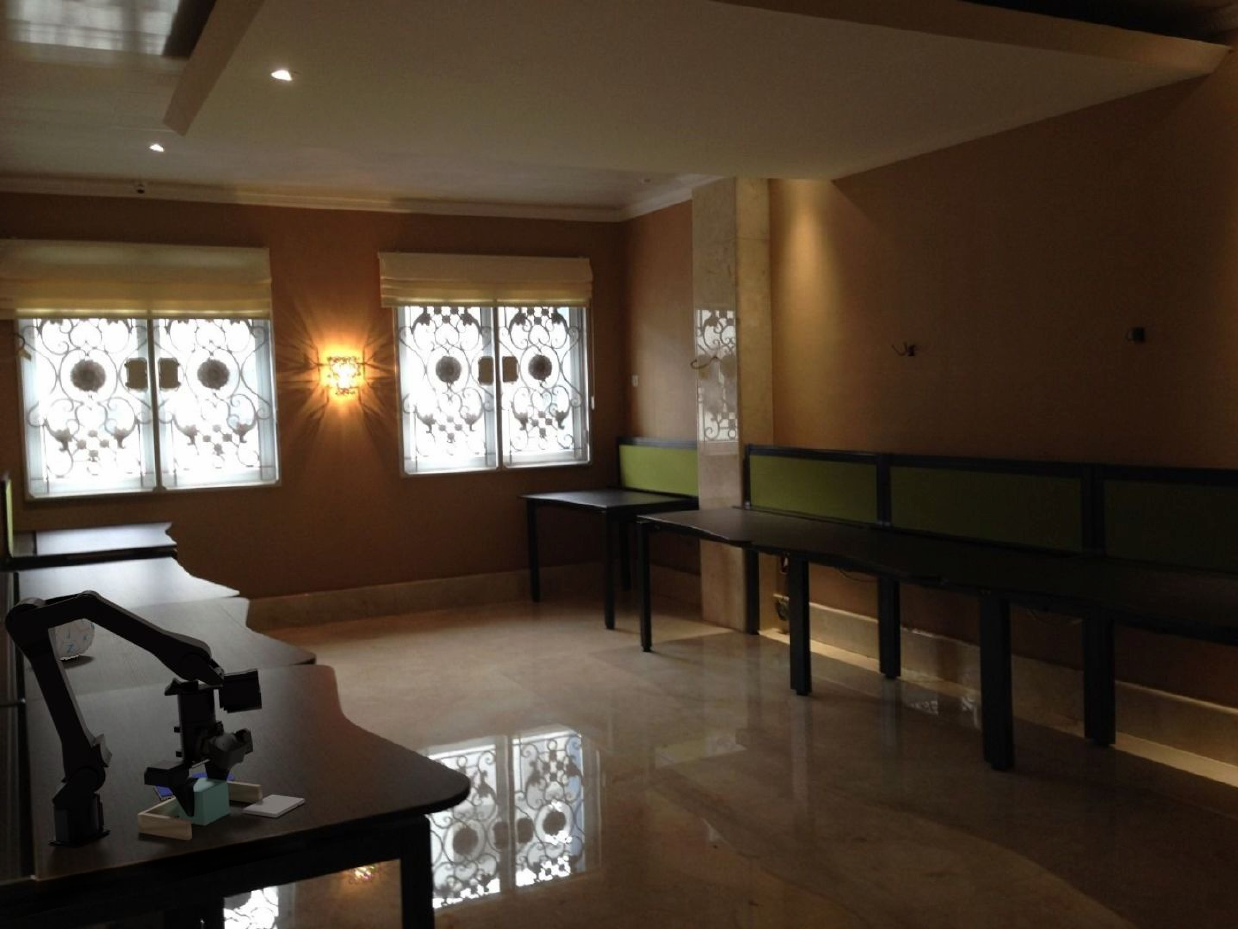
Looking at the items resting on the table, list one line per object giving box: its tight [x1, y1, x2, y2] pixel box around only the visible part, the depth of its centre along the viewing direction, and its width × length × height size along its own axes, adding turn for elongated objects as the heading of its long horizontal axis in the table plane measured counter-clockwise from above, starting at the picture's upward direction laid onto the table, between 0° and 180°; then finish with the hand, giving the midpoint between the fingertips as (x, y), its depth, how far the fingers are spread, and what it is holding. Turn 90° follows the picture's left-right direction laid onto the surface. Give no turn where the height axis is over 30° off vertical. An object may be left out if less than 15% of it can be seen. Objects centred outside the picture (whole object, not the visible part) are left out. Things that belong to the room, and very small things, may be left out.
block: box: [178, 778, 230, 826], centre depth 180 cm, size 6×6×6 cm
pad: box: [242, 794, 306, 819], centre depth 183 cm, size 7×7×1 cm
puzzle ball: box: [55, 619, 96, 658], centre depth 304 cm, size 15×15×15 cm
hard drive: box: [153, 771, 236, 801], centre depth 196 cm, size 2×8×12 cm
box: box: [136, 781, 263, 841], centre depth 181 cm, size 17×11×3 cm, turn 156°
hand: (204, 810), depth 181 cm, fingers closed on block, 5 cm apart
